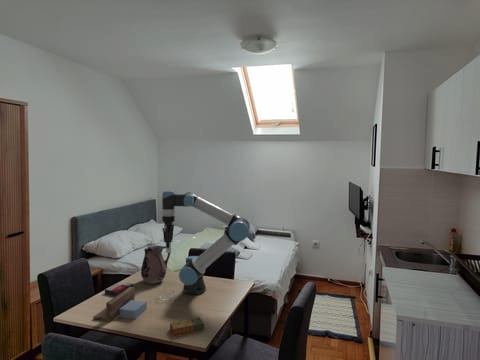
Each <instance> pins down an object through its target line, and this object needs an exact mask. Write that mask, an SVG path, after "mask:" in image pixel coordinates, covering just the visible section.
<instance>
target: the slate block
mask: <svg viewBox="0 0 480 360" xmlns="http://www.w3.org/2000/svg"><path fill="white" fill-rule="evenodd" d="M147 305H148V303H147V301H141V300H131V301H129V302H128V303H127V304H125V305H124V306H123V307H121V308H120V309H119V316H118V317H119V318H122V319H124V318H125V319H131V320H137V319H139V317H140V316H142V314H143V313H145V312H146V311H147V309H148V308H147V307H148V306H147Z"/></svg>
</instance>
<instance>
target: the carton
mask: <svg viewBox="0 0 480 360" xmlns="http://www.w3.org/2000/svg"><path fill="white" fill-rule="evenodd" d="M169 330H170V332H171V334H172V337H174V338H175V337H179V336H184V335H190V334H195V333H199V332H203V331H205V323H204V322H203V320H202V318H200V316H198V317H194V318H187V319H182V320H176V321H170V323H169Z"/></svg>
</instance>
